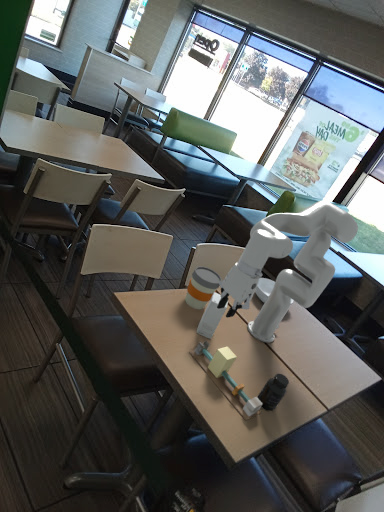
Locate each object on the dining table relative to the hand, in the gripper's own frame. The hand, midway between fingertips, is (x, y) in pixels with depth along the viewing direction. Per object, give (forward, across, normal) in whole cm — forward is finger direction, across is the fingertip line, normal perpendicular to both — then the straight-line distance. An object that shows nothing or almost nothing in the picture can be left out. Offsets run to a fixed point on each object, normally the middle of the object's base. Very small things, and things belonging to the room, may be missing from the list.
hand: (224, 311), depth 128 cm
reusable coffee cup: (+21, +28, -20) cm, 40 cm away
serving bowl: (+22, +21, -68) cm, 75 cm away
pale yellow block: (+21, -8, -2) cm, 23 cm away
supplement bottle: (+21, -24, -10) cm, 34 cm away
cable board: (+21, -12, -2) cm, 24 cm away
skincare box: (+21, +12, -12) cm, 27 cm away
